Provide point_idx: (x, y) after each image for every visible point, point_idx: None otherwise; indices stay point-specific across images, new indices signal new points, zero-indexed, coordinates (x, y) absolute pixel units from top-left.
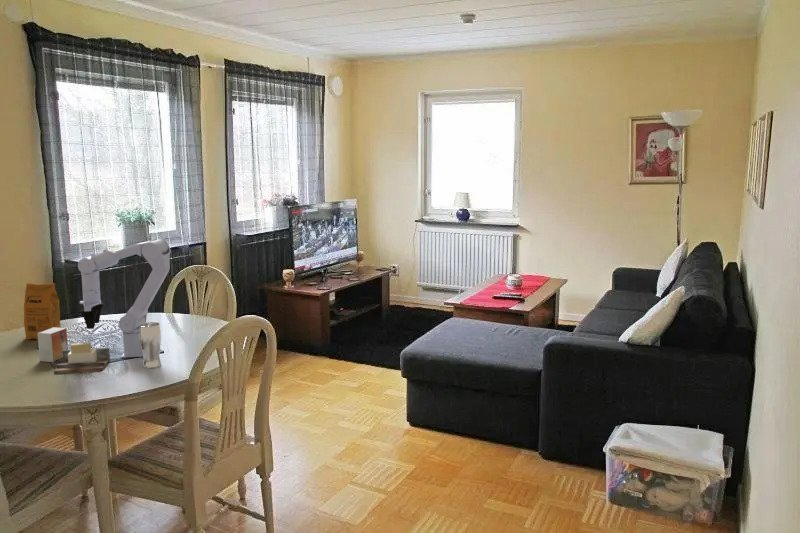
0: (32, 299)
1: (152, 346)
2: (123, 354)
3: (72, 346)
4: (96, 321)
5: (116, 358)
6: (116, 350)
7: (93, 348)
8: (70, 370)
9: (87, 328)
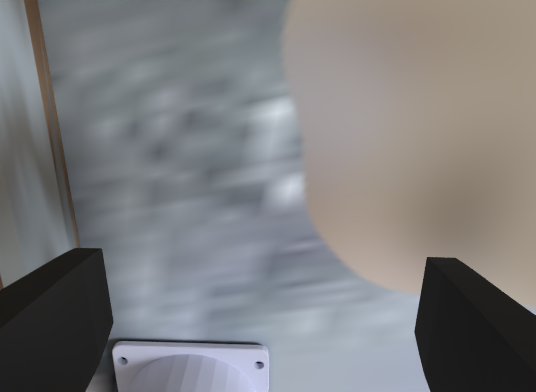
0: None
1: None
2: (159, 353)
3: None
4: (427, 328)
5: (115, 311)
6: (315, 285)
7: (14, 227)
8: None
9: (68, 251)
